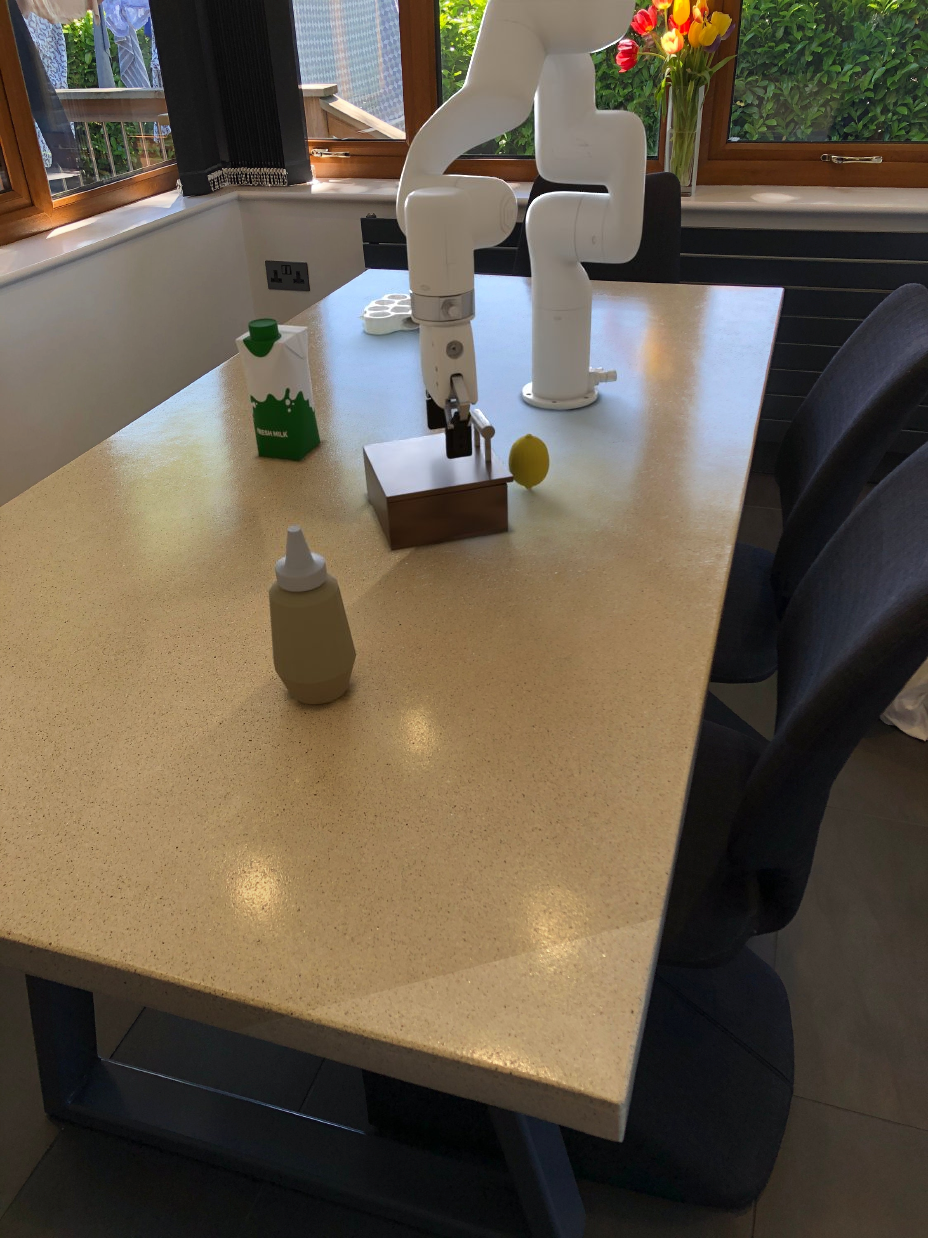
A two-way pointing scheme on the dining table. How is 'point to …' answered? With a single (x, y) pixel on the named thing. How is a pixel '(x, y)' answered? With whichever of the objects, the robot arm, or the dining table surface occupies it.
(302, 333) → the milk carton
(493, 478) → the lid
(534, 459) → the lemon
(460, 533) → the box
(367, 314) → the white multi-hole holder
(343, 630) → the squeeze bottle
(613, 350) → the dining table surface
